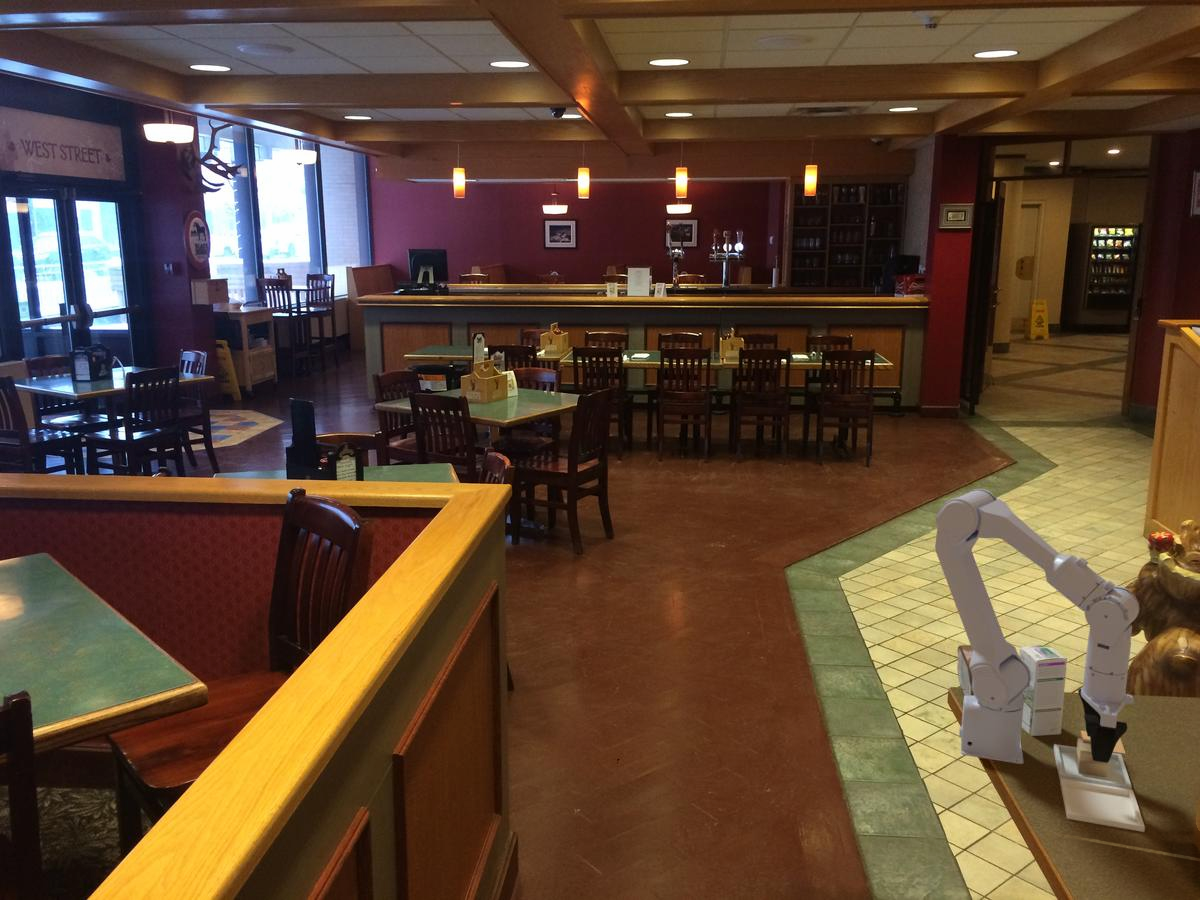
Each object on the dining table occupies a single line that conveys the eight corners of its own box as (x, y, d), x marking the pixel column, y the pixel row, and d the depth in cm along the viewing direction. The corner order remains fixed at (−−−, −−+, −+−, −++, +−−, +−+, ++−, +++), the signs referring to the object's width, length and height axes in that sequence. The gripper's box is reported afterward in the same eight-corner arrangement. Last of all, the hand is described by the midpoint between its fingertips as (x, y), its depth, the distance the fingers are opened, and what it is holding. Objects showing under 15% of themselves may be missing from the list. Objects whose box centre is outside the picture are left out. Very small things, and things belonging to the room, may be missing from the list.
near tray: (1066, 820, 138) (1067, 813, 138) (1059, 785, 148) (1060, 778, 147) (1143, 834, 135) (1144, 826, 135) (1132, 796, 144) (1132, 789, 144)
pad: (1084, 749, 158) (1085, 747, 158) (1080, 732, 163) (1080, 730, 163) (1125, 755, 156) (1125, 753, 156) (1119, 738, 161) (1119, 736, 161)
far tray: (1059, 781, 148) (1059, 774, 148) (1053, 750, 158) (1053, 743, 157) (1130, 793, 145) (1131, 786, 145) (1120, 760, 154) (1121, 754, 154)
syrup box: (1062, 736, 162) (1069, 657, 159) (1029, 738, 162) (1036, 659, 159) (1043, 720, 168) (1050, 644, 165) (1012, 722, 167) (1018, 645, 164)
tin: (985, 714, 170) (988, 671, 168) (966, 713, 171) (970, 670, 169) (970, 678, 185) (973, 638, 183) (953, 676, 185) (956, 636, 183)
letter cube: (1078, 773, 150) (1080, 749, 149) (1075, 760, 154) (1077, 737, 153) (1106, 777, 149) (1109, 753, 148) (1102, 764, 152) (1105, 741, 152)
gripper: (1144, 691, 135) (1133, 777, 138) (1129, 651, 148) (1119, 730, 151) (1089, 684, 138) (1080, 768, 140) (1079, 645, 151) (1071, 723, 154)
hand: (1097, 748), depth 146 cm, fingers open, 7 cm apart
